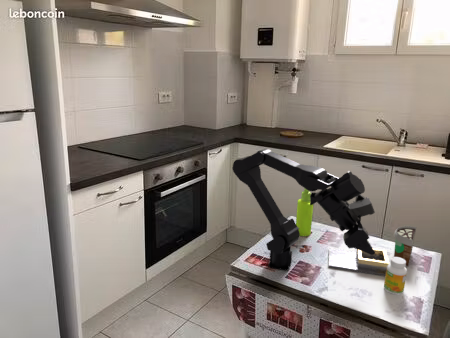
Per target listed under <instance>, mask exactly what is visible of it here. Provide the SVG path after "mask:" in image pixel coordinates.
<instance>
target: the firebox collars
mask: <svg viewBox="0 0 450 338" xmlns="http://www.w3.org/2000/svg"><path fill="white" fill-rule="evenodd" d="M372 248H373V250H374V251H375V254H373V255H371V254H368V253H366V252H363V251H361V250H358V249H356V251H353V250H345V249H341V248H340V249H339V248H332V247H329V249H328V268H331V269H335V270H336V269H337V270H343V271H350V272H356V273H361V274H362V273H363V274H369V275H375V276H381V277H385V276H386V270H387V266H388V265H389V264H390V261H389V257H388V254H387V250H386V249H381V248H374V247H372Z"/></svg>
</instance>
